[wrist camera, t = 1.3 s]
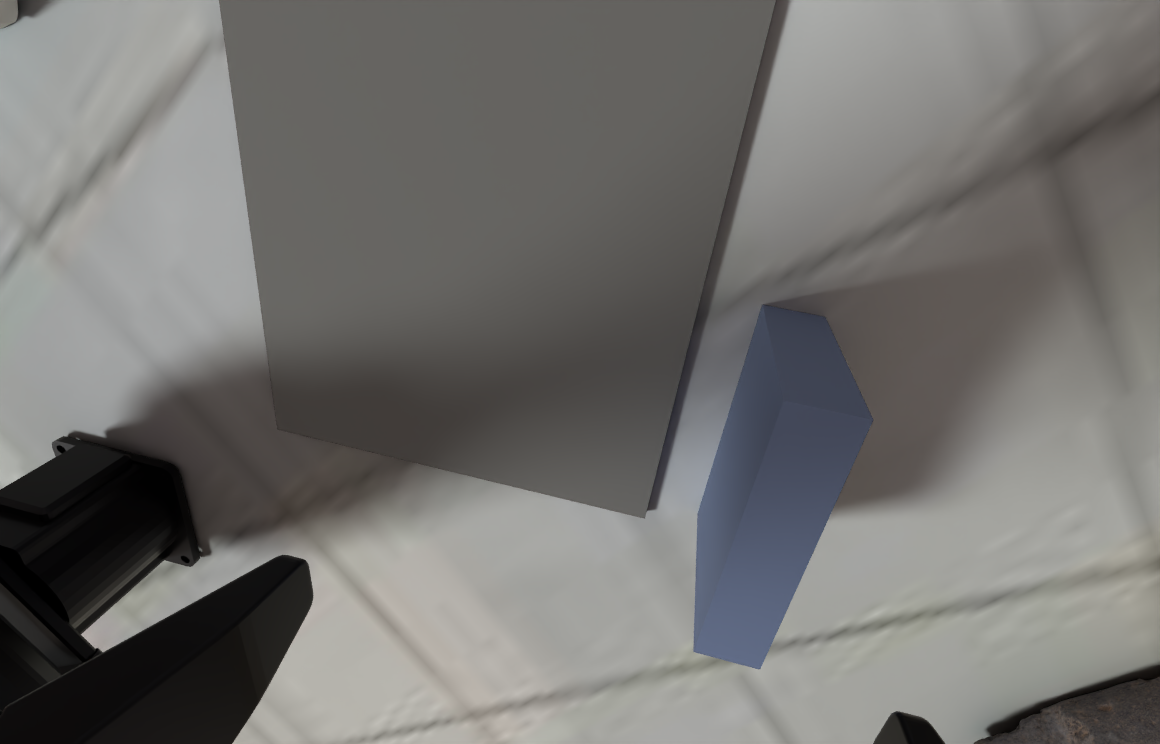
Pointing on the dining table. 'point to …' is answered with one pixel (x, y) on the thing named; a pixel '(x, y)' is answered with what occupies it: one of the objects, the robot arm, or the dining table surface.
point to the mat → (489, 222)
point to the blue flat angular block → (773, 482)
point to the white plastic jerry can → (8, 12)
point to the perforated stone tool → (1094, 718)
